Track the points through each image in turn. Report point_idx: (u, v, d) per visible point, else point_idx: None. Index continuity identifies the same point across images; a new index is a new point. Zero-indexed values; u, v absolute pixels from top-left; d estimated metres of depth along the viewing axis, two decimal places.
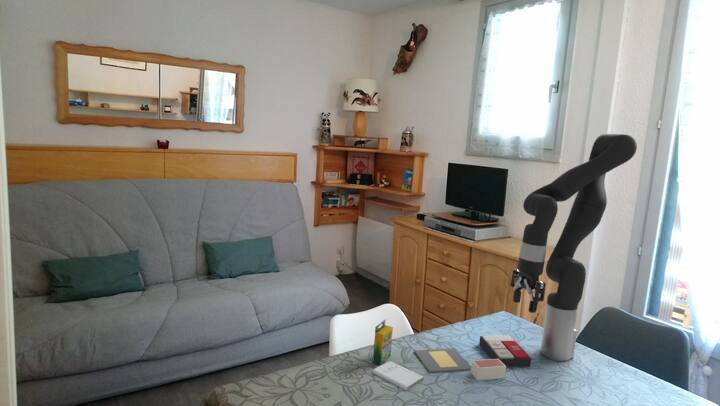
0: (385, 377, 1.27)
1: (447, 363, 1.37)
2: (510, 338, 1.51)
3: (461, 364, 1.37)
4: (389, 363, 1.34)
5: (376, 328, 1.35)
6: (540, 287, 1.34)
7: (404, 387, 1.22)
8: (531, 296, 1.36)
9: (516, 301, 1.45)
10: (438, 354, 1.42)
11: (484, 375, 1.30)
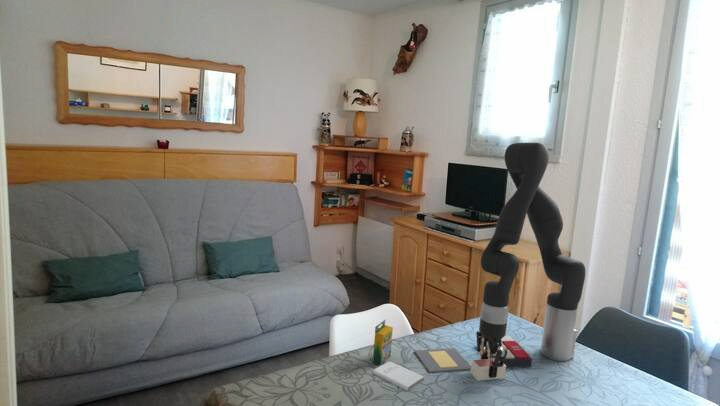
0: (385, 378, 1.27)
1: (447, 363, 1.37)
2: (510, 338, 1.51)
3: (461, 364, 1.37)
4: (389, 363, 1.34)
5: (376, 328, 1.35)
6: (501, 356, 1.25)
7: (405, 387, 1.22)
8: (491, 361, 1.29)
9: None
10: (438, 354, 1.42)
11: (484, 374, 1.30)
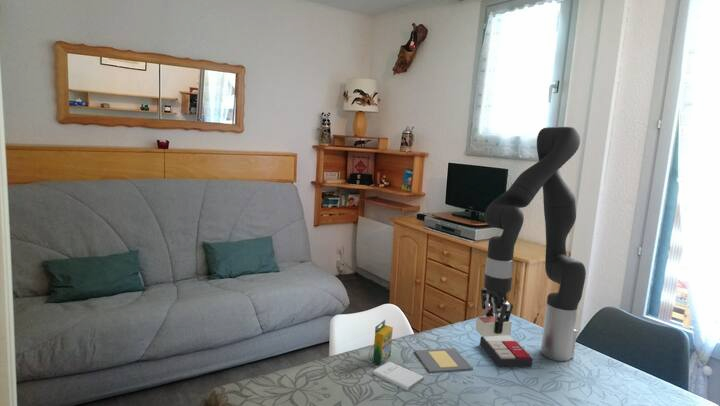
0: (385, 378, 1.27)
1: (447, 363, 1.37)
2: (511, 338, 1.51)
3: (461, 364, 1.37)
4: (389, 364, 1.34)
5: (376, 328, 1.35)
6: (506, 310, 1.23)
7: (405, 387, 1.22)
8: (496, 316, 1.27)
9: None
10: (438, 354, 1.42)
11: (489, 331, 1.28)
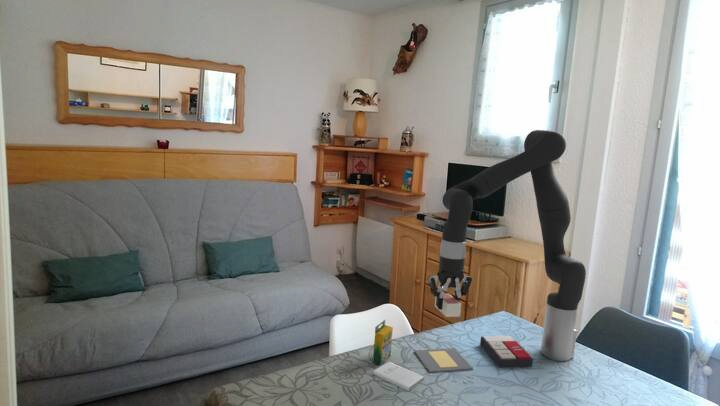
0: (386, 378, 1.27)
1: (447, 363, 1.37)
2: (511, 338, 1.50)
3: (461, 364, 1.37)
4: (388, 364, 1.34)
5: (376, 328, 1.35)
6: (429, 281, 1.35)
7: (405, 388, 1.22)
8: None
9: None
10: (438, 354, 1.42)
11: None
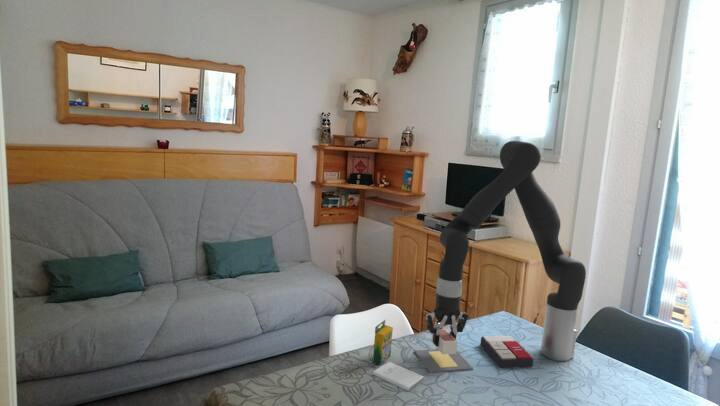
0: (386, 379, 1.26)
1: (447, 363, 1.37)
2: (511, 338, 1.50)
3: (461, 364, 1.37)
4: (388, 364, 1.34)
5: (376, 328, 1.35)
6: (426, 318, 1.37)
7: (406, 388, 1.22)
8: None
9: None
10: (438, 354, 1.42)
11: None
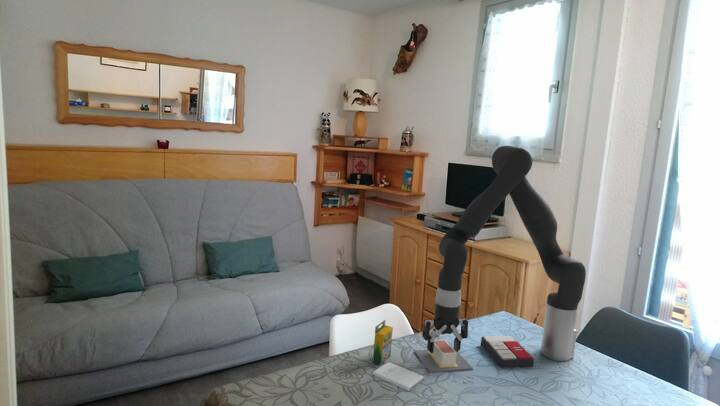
0: (386, 379, 1.26)
1: None
2: (511, 338, 1.50)
3: (461, 364, 1.37)
4: (388, 364, 1.33)
5: (376, 328, 1.35)
6: (424, 324, 1.37)
7: (407, 388, 1.22)
8: None
9: (454, 349, 1.40)
10: None
11: (433, 350, 1.41)
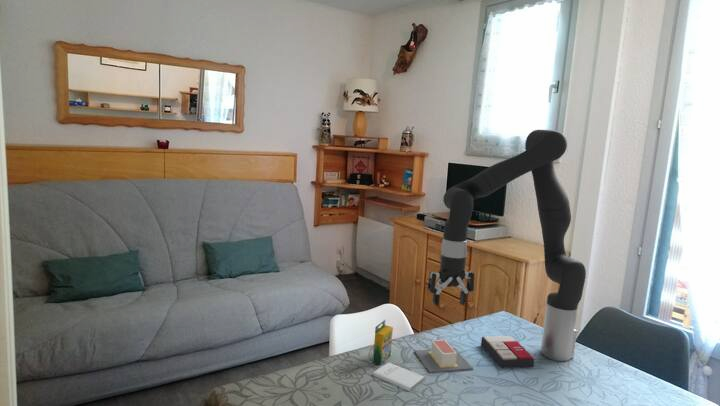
0: (386, 379, 1.26)
1: None
2: (512, 339, 1.50)
3: (461, 364, 1.37)
4: (388, 365, 1.33)
5: (376, 328, 1.35)
6: (430, 277, 1.35)
7: (407, 388, 1.22)
8: None
9: (460, 302, 1.39)
10: None
11: (433, 350, 1.41)
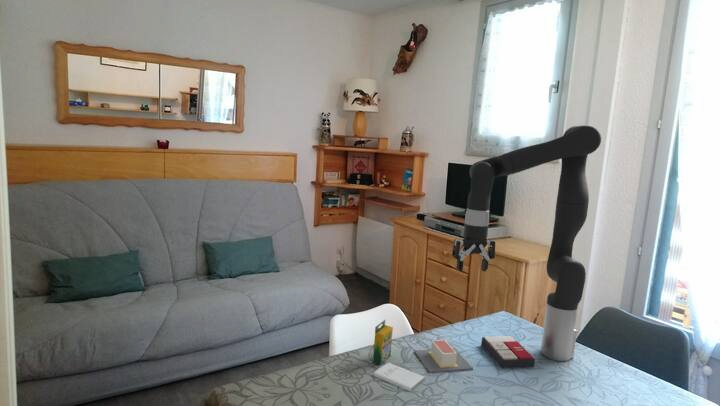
0: (387, 379, 1.26)
1: None
2: (512, 339, 1.50)
3: (461, 364, 1.37)
4: (388, 365, 1.33)
5: (376, 328, 1.35)
6: (454, 244, 1.45)
7: (408, 388, 1.22)
8: None
9: (482, 269, 1.49)
10: None
11: (433, 350, 1.41)
